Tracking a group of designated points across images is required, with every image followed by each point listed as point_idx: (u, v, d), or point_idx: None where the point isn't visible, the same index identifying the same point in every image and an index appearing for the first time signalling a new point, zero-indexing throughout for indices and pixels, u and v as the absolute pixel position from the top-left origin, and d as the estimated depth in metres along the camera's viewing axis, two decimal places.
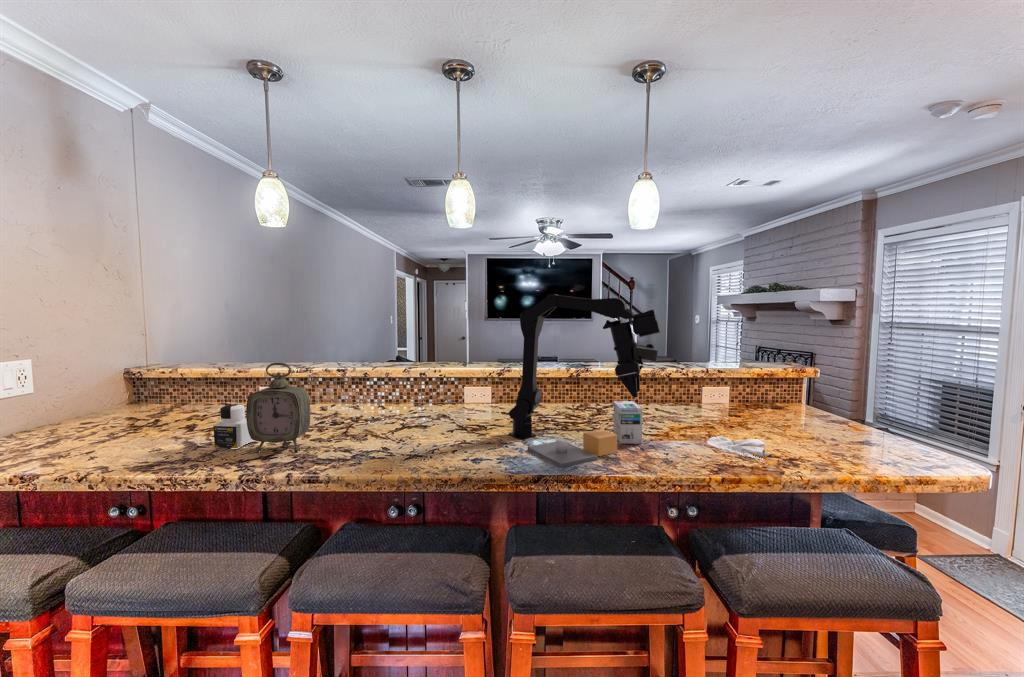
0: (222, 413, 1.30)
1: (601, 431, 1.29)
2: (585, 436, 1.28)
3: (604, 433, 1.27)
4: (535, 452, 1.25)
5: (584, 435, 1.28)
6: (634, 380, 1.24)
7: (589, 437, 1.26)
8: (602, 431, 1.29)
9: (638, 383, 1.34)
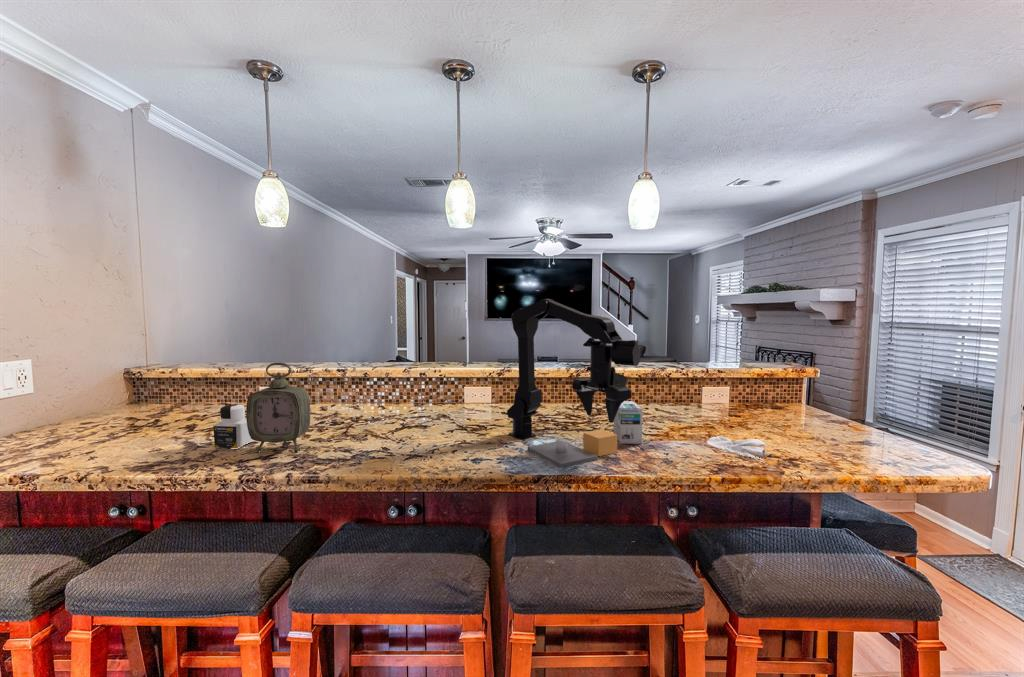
0: (222, 413, 1.30)
1: (601, 431, 1.29)
2: (585, 436, 1.28)
3: (604, 433, 1.27)
4: (535, 452, 1.25)
5: (584, 435, 1.28)
6: (618, 406, 1.22)
7: (589, 437, 1.26)
8: (602, 431, 1.29)
9: (591, 407, 1.31)
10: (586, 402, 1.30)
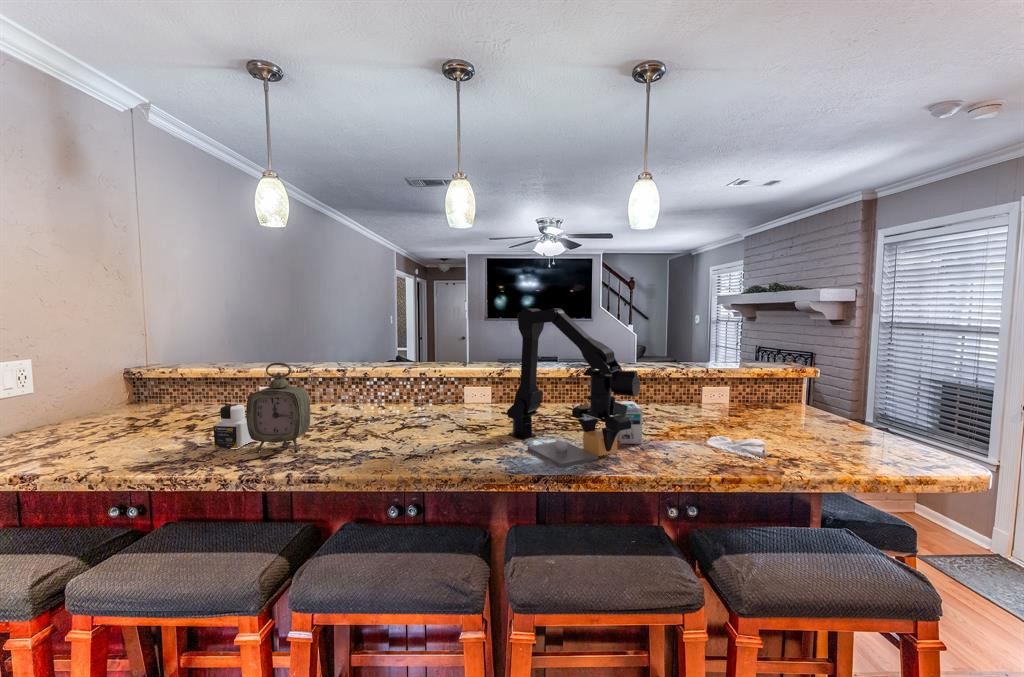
0: (222, 413, 1.30)
1: (601, 431, 1.29)
2: (585, 436, 1.28)
3: None
4: (535, 452, 1.25)
5: (584, 435, 1.28)
6: (615, 435, 1.23)
7: (589, 437, 1.26)
8: None
9: None
10: None
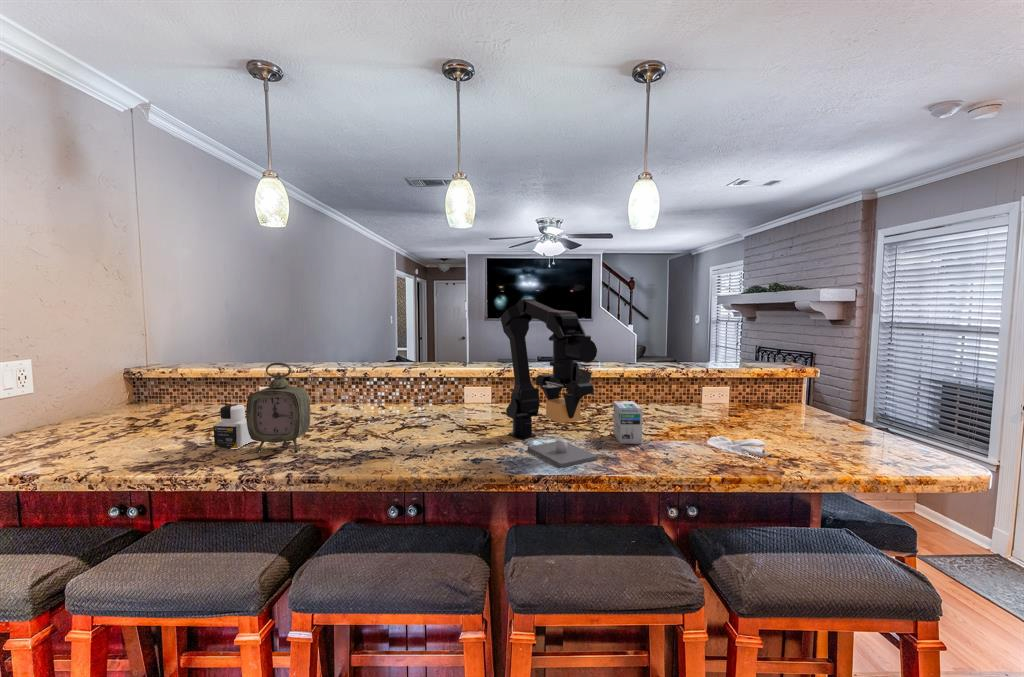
0: (222, 413, 1.30)
1: None
2: (548, 404, 1.24)
3: None
4: (535, 452, 1.25)
5: (547, 402, 1.24)
6: (577, 401, 1.20)
7: (551, 404, 1.22)
8: None
9: None
10: None
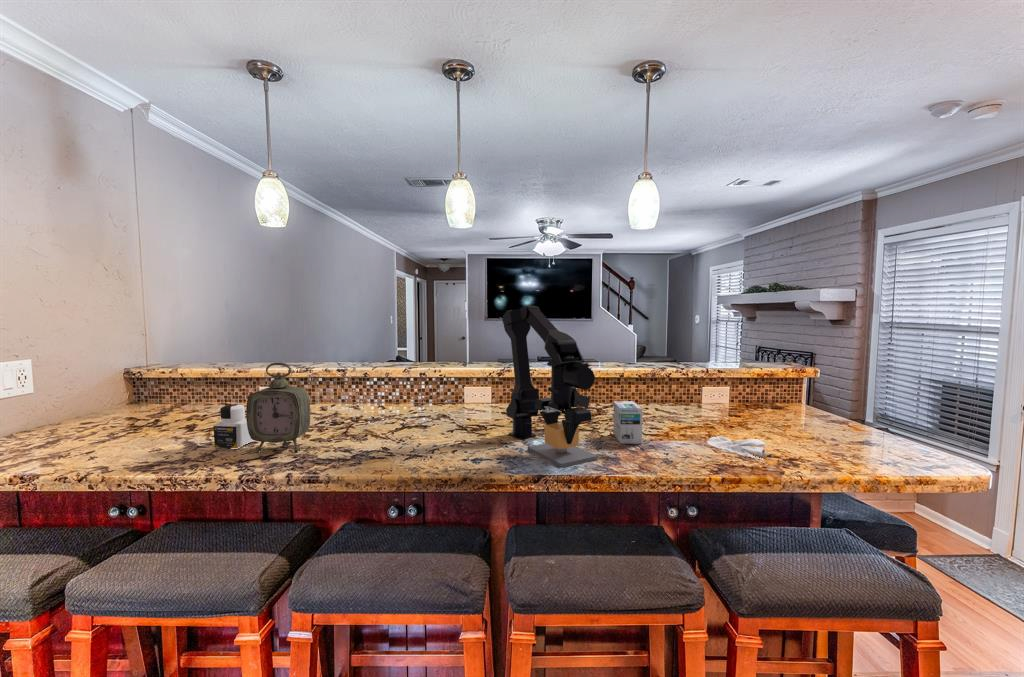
0: (222, 413, 1.30)
1: None
2: (546, 429, 1.24)
3: None
4: (535, 452, 1.25)
5: (545, 427, 1.25)
6: (576, 427, 1.20)
7: (550, 429, 1.23)
8: None
9: None
10: (551, 423, 1.27)
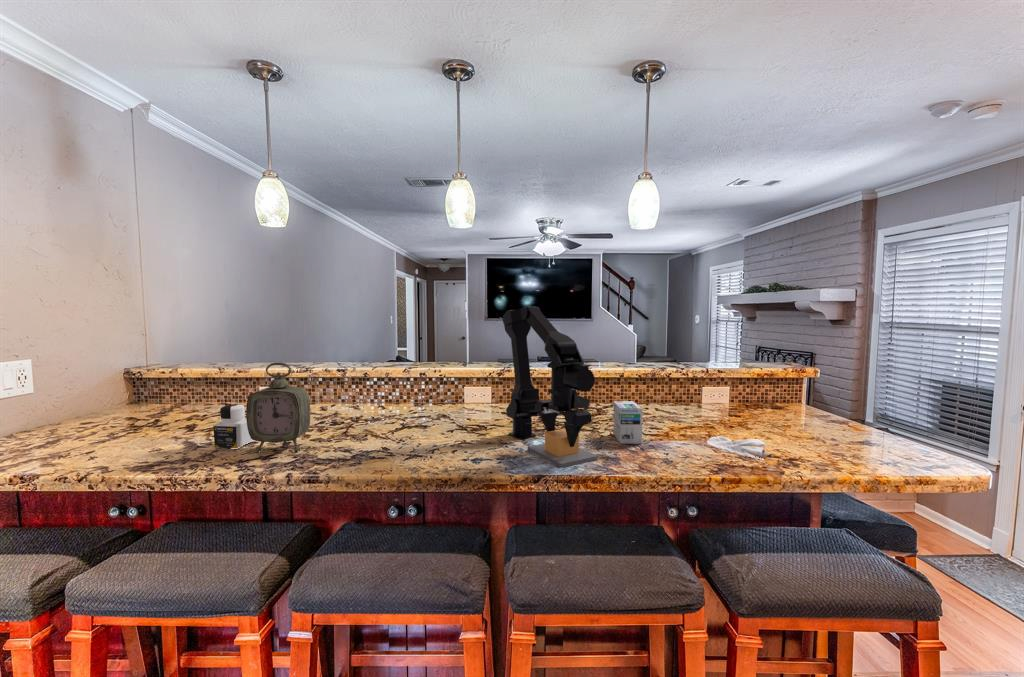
0: (222, 413, 1.30)
1: (563, 430, 1.26)
2: (546, 436, 1.25)
3: (566, 433, 1.24)
4: (535, 452, 1.25)
5: (545, 435, 1.25)
6: (578, 430, 1.19)
7: (550, 437, 1.23)
8: (564, 430, 1.26)
9: (554, 429, 1.28)
10: (549, 424, 1.28)
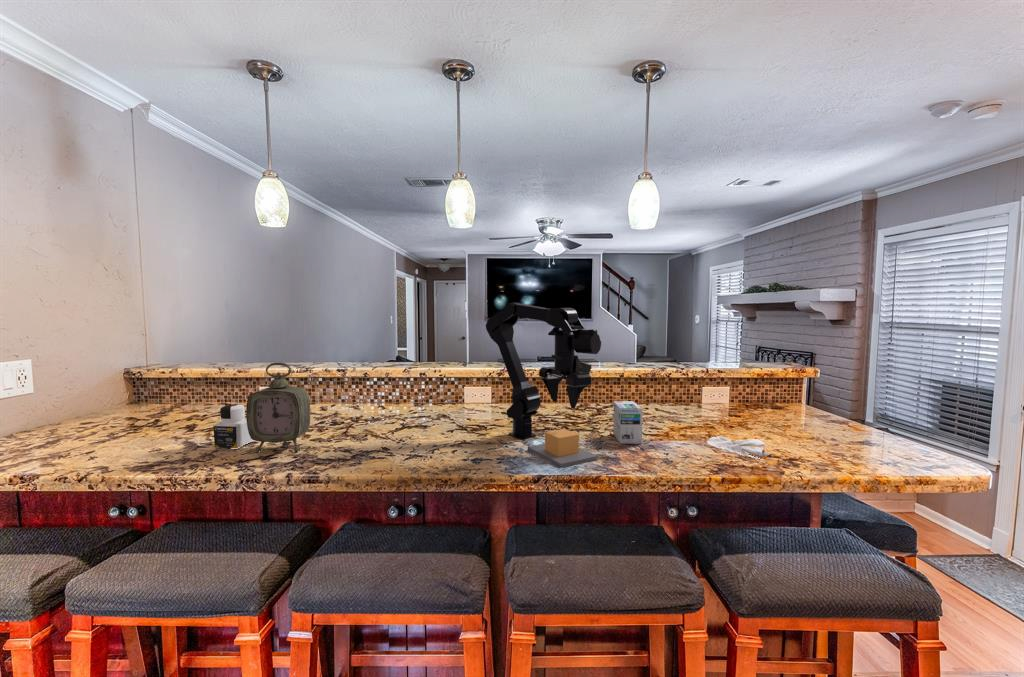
0: (222, 413, 1.30)
1: (563, 430, 1.26)
2: (546, 436, 1.25)
3: (566, 433, 1.24)
4: (535, 452, 1.25)
5: (545, 435, 1.25)
6: (579, 392, 1.27)
7: (550, 437, 1.23)
8: (564, 430, 1.26)
9: (556, 394, 1.36)
10: (552, 389, 1.36)
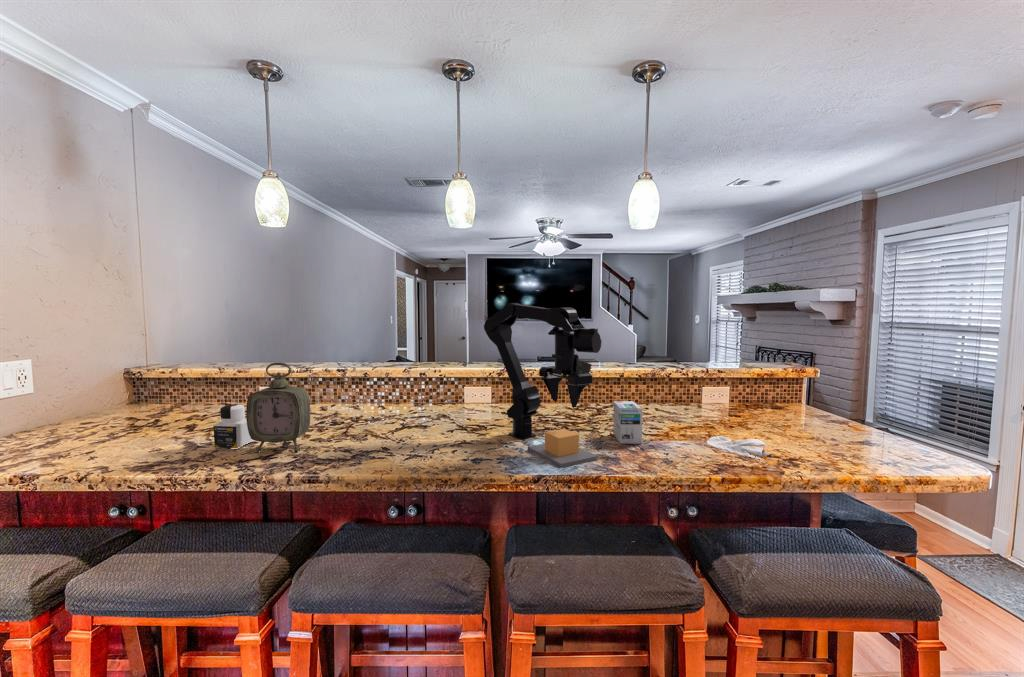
0: (222, 413, 1.30)
1: (563, 430, 1.26)
2: (546, 436, 1.25)
3: (566, 433, 1.24)
4: (535, 452, 1.25)
5: (545, 435, 1.25)
6: (580, 391, 1.27)
7: (550, 437, 1.23)
8: (564, 430, 1.26)
9: (557, 393, 1.37)
10: (552, 388, 1.36)
